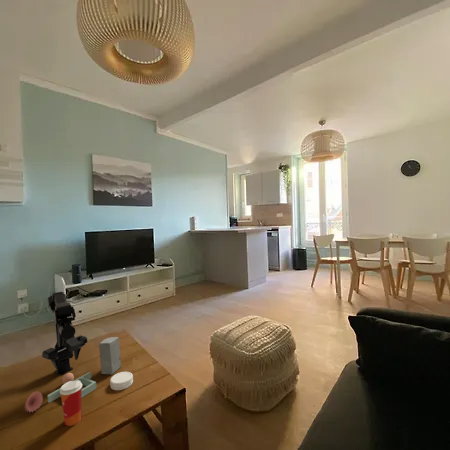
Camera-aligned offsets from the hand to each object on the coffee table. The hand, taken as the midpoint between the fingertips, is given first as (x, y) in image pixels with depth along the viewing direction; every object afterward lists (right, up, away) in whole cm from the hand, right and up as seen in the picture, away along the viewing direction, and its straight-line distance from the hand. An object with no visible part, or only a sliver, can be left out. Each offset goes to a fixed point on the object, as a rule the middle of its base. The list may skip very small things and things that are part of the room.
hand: (67, 364), depth 131 cm
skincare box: (+17, -9, +11) cm, 22 cm away
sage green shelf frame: (+9, -9, -7) cm, 14 cm away
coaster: (+27, -9, -2) cm, 28 cm away
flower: (-4, -10, -17) cm, 20 cm away
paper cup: (+17, -10, -25) cm, 31 cm away
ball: (+1, -9, 0) cm, 9 cm away
